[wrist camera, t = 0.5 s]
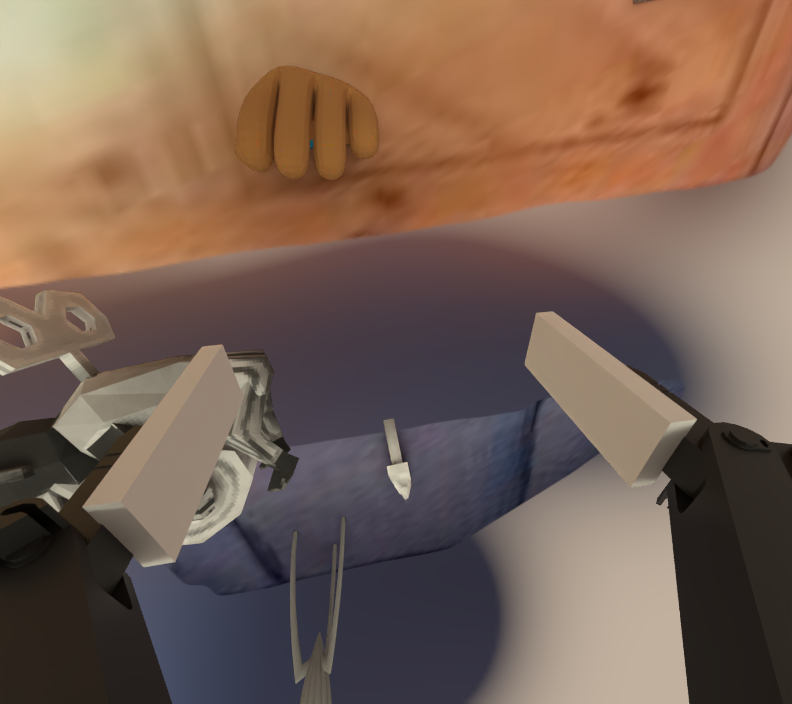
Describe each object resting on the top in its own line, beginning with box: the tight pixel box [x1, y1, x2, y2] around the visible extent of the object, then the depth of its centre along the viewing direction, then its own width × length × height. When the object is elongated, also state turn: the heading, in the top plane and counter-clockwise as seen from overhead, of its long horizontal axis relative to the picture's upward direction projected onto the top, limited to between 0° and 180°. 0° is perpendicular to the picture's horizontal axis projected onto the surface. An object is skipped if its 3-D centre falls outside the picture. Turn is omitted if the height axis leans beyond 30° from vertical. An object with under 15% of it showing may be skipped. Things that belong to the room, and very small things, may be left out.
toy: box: [0, 290, 299, 545], centre depth 35 cm, size 21×31×30 cm
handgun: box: [383, 418, 412, 501], centre depth 55 cm, size 20×4×11 cm, turn 10°
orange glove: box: [235, 66, 379, 180], centre depth 24 cm, size 12×7×15 cm, turn 85°
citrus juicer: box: [290, 517, 345, 704], centre depth 54 cm, size 11×10×30 cm
